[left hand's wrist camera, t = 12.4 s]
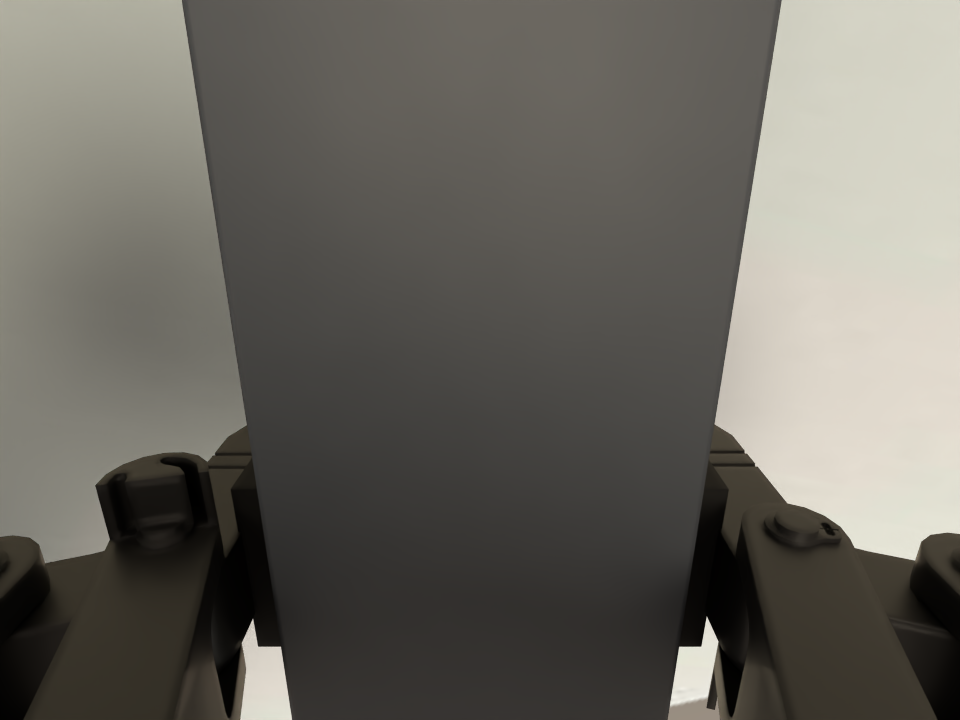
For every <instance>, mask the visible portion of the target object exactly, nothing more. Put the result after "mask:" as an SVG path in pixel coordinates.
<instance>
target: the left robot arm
mask: <svg viewBox="0 0 960 720" xmlns="http://www.w3.org/2000/svg"><path fill="white" fill-rule="evenodd" d="M95 486H96V490H97V494H98V497H99V501H100V505H101V508H102V512H103V516H104V519H105V523H106V527H107V530H108V534H109V538H110V541H109V543H108V545H107V547H106V549H105V551H102V552H98V553H95V554H90V555H85V556H80V557H75V558H70V559H65V560H60V561H55V562H50V563H45V562H44V559H43V556H42V553H41V550H40V547H39V544H37V543H36V542H35V541H33V540H32V539H31V538H27V537H20V536H5V537H0V720H240V716H241V708H242V699H243V691H244V682H245V674H246V665H245V659H244V653H243V648H242V641H243V639H244V637H245V635H246V632H247V630H248V628H249V626H250V624H251V621H252V619H253V620H254V625H255V631H256V637H257V642H258V647H281V643H280V636H279V630H278V623H277V617H276V610H275V604H274V597H273V591H272V584H271V577H270V571H269V564H268V558H267V551H266V545H265V538H264V532H263V525H262V519H261V512H260V506H259V499H258V493H257V486H256V480H255V473H254V467H253V460H252V454H251V447H250V441H249V434H248V428H247V426H245V427H244V428H242V429H240V430H239V431H237V432H236V433H234V434H232V435H231V436H229V437H228V438H227V439H226V440H225V441H224V443H223V444H222V445H221V446H220V448H219V449H218V450H217V451H216V453H215V456H212V457H211V459H210V460H209V461H208V462H207V461H205V460H204V459H203V458H201V457H200V456H198V455H194V454H189V453H184V452H180V453H162V454H157V455H152V456H147V457H142V458H140V459H137V460H134V461H131V462H129V463H126V464H123V465H121V466H120V467H118V468H116V469H115V470H113V471H111V472H109V473H108V474H106V475H105V476H104V477H103V478H102V479H101V480H100V481H99V482H98V483H97V484H96V485H95ZM706 617H708V620H709V622H710V624H711V626H712V628H713V630H714V633H715V635H716V637H717V639H718V641H719V642H718V648H717V653H716V658H715V663H714V669H713V674H712V679H711V685H710V690H709V695H708V702H707V708H709V709H713V710H715V706H716V701H717V698H718V706H719V715H720V720H960V534H954V533H942V534H934V535H930V536H929V537H927V538H926V539H925V540H923V541H922V542H921V545H920V548H919V551H918V554H917V557H916V560H915V561H914V560H909V559H904V558H899V557H893V556H888V555H883V554H878V553H873V552H868V551H864V550H860V549H856V548H854V546H853V544H852V542H851V540H850V538H849V537H848V536H847V535H846V533H845V532H844V531H843V530H842V528H841V527H840V526H838V525H837V524H835V523H834V522H833V521H831V520H830V519H828V518H827V517H825V516H823V515H821V514H819V513H816V512H814V511H812V510H809V509H807V508H805V507H800V506H796V505H792V504H787V503H786V501H785V500H784V499H783V498H782V496H781V495H780V494H779V493H778V491H777V490H776V489H775V488H774V486H773V485H772V484H771V483H770V482H769V480H768V479H767V478H766V477H765V475H764V474H763V473H762V472H761V470H760V469H759V468H758V467H755V463H754V462H753V461H752V459H751V458H750V457H749V456H748V454H745V453H744V449H743V448H742V447H741V446H740V444H739V443H738V442H737V441H736V440H735V438H734V437H733V436H732V435H731V434H729V433H728V432H726V431H724V430H723V429H721V428H719V427H718V426H716V425H714V429H713V436H712V442H711V448H710V455H709V461H708V467H707V474H706V480H705V486H704V492H703V499H702V505H701V511H700V518H699V524H698V530H697V537H696V543H695V549H694V556H693V562H692V568H691V574H690V581H689V587H688V593H687V600H686V606H685V612H684V619H683V625H682V631H681V637H680V644H679V647H701V645H702V640H703V634H704V628H705V623H706Z"/></svg>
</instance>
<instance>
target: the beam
mask: <svg viewBox="0 0 960 720" xmlns="http://www.w3.org/2000/svg"><path fill="white" fill-rule="evenodd" d="M781 1H782V0H182V4H183V10H184V17H185V23H186V30H187V36H188V43H189V49H190V56H191V62H192V69H193V76H194V82H195V89H196V95H197V102H198V108H199V115H200V121H201V128H202V134H203V141H204V147H205V154H206V160H207V167H208V173H209V180H210V186H211V193H212V199H213V206H214V212H215V219H216V225H217V232H218V238H219V245H220V252H221V258H222V265H223V271H224V278H225V284H226V291H227V297H228V304H229V310H230V317H231V323H232V330H233V336H234V343H235V349H236V356H237V362H238V369H239V375H240V382H241V388H242V395H243V401H244V408H245V415H246V421H247V428H248V434H249V441H250V447H251V454H252V460H253V467H254V473H255V480H256V486H257V493H258V499H259V506H260V512H261V519H262V525H263V532H264V538H265V545H266V551H267V558H268V564H269V571H270V577H271V584H272V591H273V597H274V604H275V610H276V617H277V623H278V630H279V636H280V643H281V649H282V656H283V662H284V669H285V675H286V682H287V688H288V695H289V701H290V708H291V714H292V720H667V719H668V713H669V707H670V701H671V694H672V688H673V682H674V675H675V669H676V663H677V656H678V650H679V644H680V637H681V631H682V625H683V619H684V612H685V606H686V600H687V593H688V587H689V581H690V574H691V568H692V562H693V556H694V549H695V543H696V537H697V530H698V524H699V518H700V511H701V505H702V499H703V492H704V486H705V480H706V474H707V467H708V461H709V455H710V448H711V442H712V436H713V429H714V423H715V417H716V410H717V404H718V398H719V392H720V385H721V379H722V373H723V366H724V360H725V354H726V347H727V341H728V335H729V329H730V322H731V316H732V310H733V303H734V297H735V291H736V284H737V278H738V272H739V265H740V259H741V253H742V247H743V240H744V234H745V228H746V221H747V215H748V209H749V202H750V196H751V190H752V184H753V177H754V171H755V165H756V158H757V152H758V146H759V139H760V133H761V127H762V120H763V114H764V108H765V102H766V95H767V89H768V83H769V76H770V70H771V64H772V57H773V51H774V45H775V38H776V32H777V26H778V20H779V13H780V7H781Z"/></svg>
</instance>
